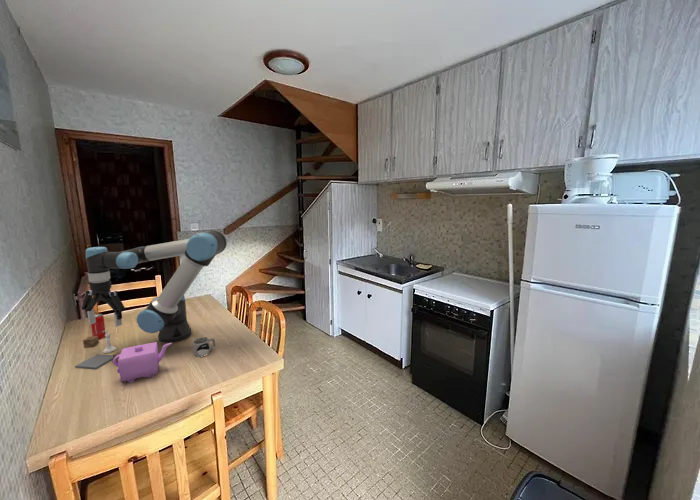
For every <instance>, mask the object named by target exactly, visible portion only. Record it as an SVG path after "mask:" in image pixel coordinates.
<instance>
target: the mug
mask: <svg viewBox="0 0 700 500" xmlns="http://www.w3.org/2000/svg"><path fill="white" fill-rule="evenodd" d="M211 341H212V345H211V346H210V342H211ZM215 347H216V339H215V338H214V337H211V338H208V337H199V338H195V339H194V340H192V350H193V351H192V352H193V357H194V356H195V357H194V358H196V357H200V358H202V357H201V356H204V355H206V354H208V353H209V352H210V351H211V350H212V349H214V348H215ZM209 354H210V353H209ZM209 354H208V355H209ZM204 357H205V356H204Z"/></svg>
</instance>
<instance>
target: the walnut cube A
mask: <svg viewBox="0 0 700 500" xmlns="http://www.w3.org/2000/svg"><path fill="white" fill-rule="evenodd" d="M99 343H100V342H99V339H98V336H92V335H91V336H87V337H86V338H84V339H83V340H82V344H83V349H87V348H95V347H96V346H97V345H98V344H99Z"/></svg>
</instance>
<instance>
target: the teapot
mask: <svg viewBox="0 0 700 500" xmlns="http://www.w3.org/2000/svg"><path fill="white" fill-rule="evenodd" d="M172 344H173V343H164V344H163V346H162V347H161V350H160V352H159V348H158V347H159V346H158V342H157V341H154V342H150V343H149V342H148V343H143V344H138V345H134V346H129V347H124V348H122V349H121V350H120V351H121V354H119V355H117V356H116V357H115V358H114V359H113V360H112V363H113V365H114V366H116V367H117V369H116V372H117V374H119V377H120V378H119V379H120V382H121V383H122V382H123V383H124V382H126V381H127V383H129V384H130V383H133V382H135V381H136V379H138V378H139V379H140V378H143V377H146V379H150V378H149V377H151V378H153V377H154V376H153V375H157V374H158V373H159V365H160V362H161V361H162V360H163V358H164V356H165V355H166V354H165V353H166V350H167V348H168V347H169V346H170V345H172ZM117 358H119V359H118V363H117V362H116V359H117ZM152 376H153V377H152Z"/></svg>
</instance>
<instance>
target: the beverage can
mask: <svg viewBox="0 0 700 500" xmlns="http://www.w3.org/2000/svg"><path fill="white" fill-rule="evenodd" d="M95 319H96V323H94V324H92V325H90V329H91V333H92V335H91V336H98V340H101V339H104V338H106V337H105V334H107V333H106V326H105V319H104V315H103V313H98V314H97V313H95Z"/></svg>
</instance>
